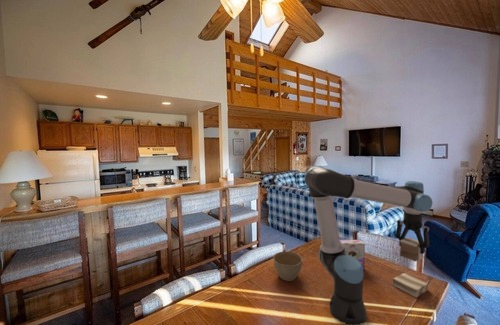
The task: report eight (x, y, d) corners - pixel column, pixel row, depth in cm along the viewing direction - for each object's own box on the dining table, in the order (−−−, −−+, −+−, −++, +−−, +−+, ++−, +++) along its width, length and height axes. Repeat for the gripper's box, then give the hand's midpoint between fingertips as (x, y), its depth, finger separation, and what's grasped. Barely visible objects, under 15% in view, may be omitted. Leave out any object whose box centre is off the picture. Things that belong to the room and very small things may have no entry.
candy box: (360, 265, 138) (361, 239, 137) (364, 270, 132) (365, 243, 131) (337, 264, 139) (337, 238, 138) (340, 269, 134) (340, 243, 132)
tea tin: (415, 261, 110) (416, 245, 109) (399, 255, 116) (400, 240, 115) (422, 257, 114) (423, 242, 113) (406, 251, 120) (407, 237, 119)
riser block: (416, 298, 109) (416, 290, 109) (392, 285, 118) (392, 278, 118) (427, 290, 114) (427, 283, 114) (403, 279, 124) (404, 272, 123)
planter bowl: (308, 279, 124) (308, 261, 123) (284, 288, 117) (283, 268, 116) (291, 265, 139) (291, 248, 138) (268, 272, 132) (268, 254, 131)
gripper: (440, 216, 106) (438, 262, 108) (395, 206, 123) (394, 246, 125) (433, 219, 102) (431, 267, 104) (388, 208, 119) (386, 250, 122)
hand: (411, 255), depth 115 cm, fingers closed on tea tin, 7 cm apart
